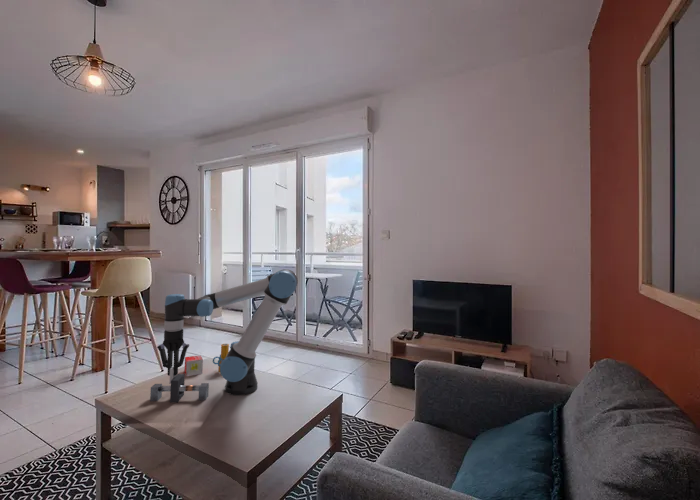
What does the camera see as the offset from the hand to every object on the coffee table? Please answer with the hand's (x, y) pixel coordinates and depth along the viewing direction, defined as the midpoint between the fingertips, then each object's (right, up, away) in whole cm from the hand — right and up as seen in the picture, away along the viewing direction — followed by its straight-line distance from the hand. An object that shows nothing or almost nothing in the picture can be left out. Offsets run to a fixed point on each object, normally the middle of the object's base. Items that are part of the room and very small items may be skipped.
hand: (172, 382), depth 145 cm
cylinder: (+9, -9, +37) cm, 39 cm away
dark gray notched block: (+2, -7, 0) cm, 8 cm away
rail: (+3, -9, 0) cm, 9 cm away
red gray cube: (-7, -9, +34) cm, 36 cm away
